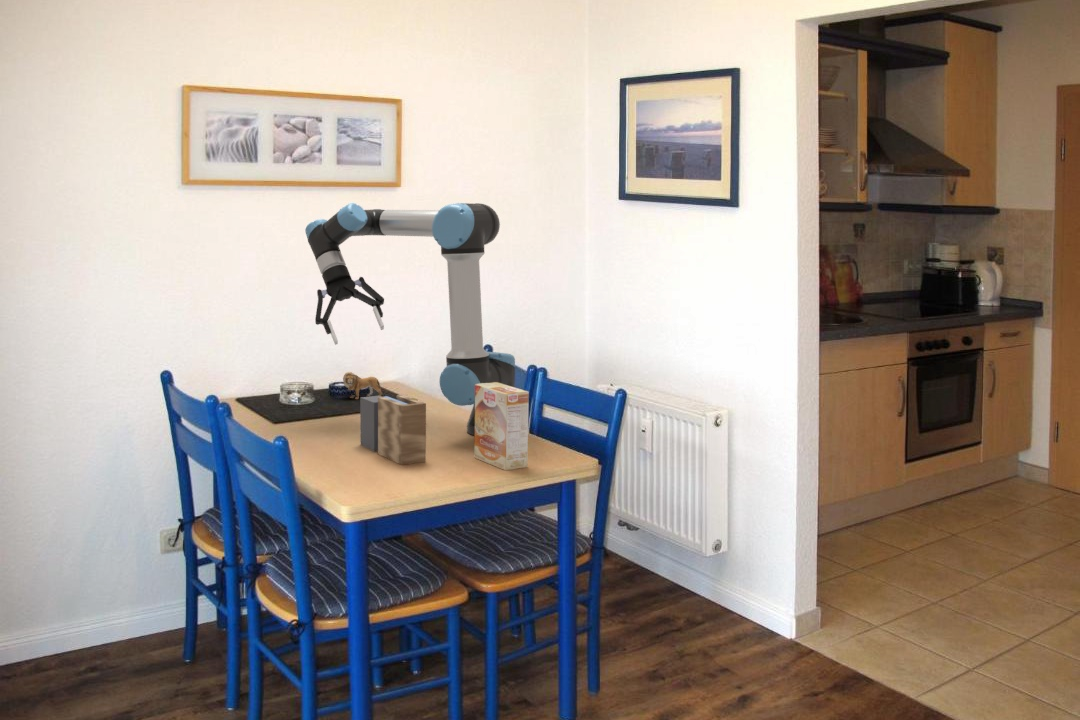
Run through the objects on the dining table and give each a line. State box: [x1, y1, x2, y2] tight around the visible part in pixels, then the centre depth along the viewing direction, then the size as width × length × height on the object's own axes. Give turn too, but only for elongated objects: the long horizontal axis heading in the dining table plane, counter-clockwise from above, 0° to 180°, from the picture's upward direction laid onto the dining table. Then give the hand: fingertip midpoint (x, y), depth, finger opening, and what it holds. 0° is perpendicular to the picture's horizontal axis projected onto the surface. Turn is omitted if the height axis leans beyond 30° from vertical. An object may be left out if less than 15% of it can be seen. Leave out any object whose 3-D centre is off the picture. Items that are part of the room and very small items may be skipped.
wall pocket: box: [377, 394, 427, 466], centre depth 277 cm, size 13×7×15 cm, turn 36°
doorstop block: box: [359, 395, 382, 452], centre depth 289 cm, size 8×6×13 cm
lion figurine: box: [342, 371, 384, 400], centre depth 355 cm, size 15×5×9 cm, turn 130°
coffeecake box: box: [473, 382, 530, 471], centre depth 274 cm, size 15×7×20 cm, turn 35°
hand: (359, 335), depth 305 cm, fingers open, 13 cm apart
